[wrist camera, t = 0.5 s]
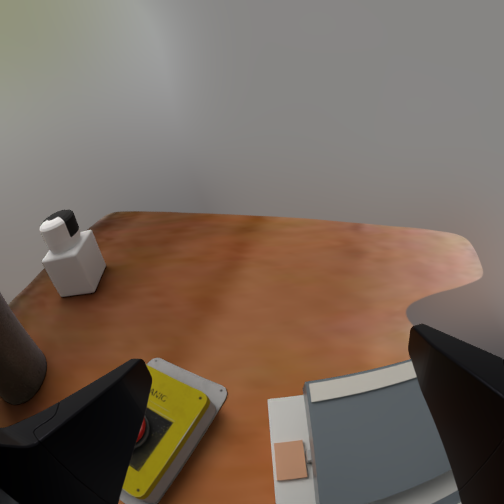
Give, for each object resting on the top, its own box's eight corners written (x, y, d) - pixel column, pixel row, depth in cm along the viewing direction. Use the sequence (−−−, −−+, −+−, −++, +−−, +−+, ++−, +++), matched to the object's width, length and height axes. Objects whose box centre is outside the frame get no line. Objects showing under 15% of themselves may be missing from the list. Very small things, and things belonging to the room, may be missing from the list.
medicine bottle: (74, 271, 42) (48, 211, 35) (107, 265, 42) (81, 200, 36) (60, 298, 36) (27, 233, 29) (95, 293, 36) (62, 222, 30)
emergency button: (48, 443, 14) (141, 332, 25) (76, 459, 16) (156, 358, 27) (123, 515, 10) (223, 367, 21) (149, 519, 12) (232, 391, 23)
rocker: (469, 453, 11) (485, 449, 9) (316, 508, 11) (320, 515, 10) (446, 353, 17) (460, 342, 15) (302, 388, 17) (305, 381, 15)
